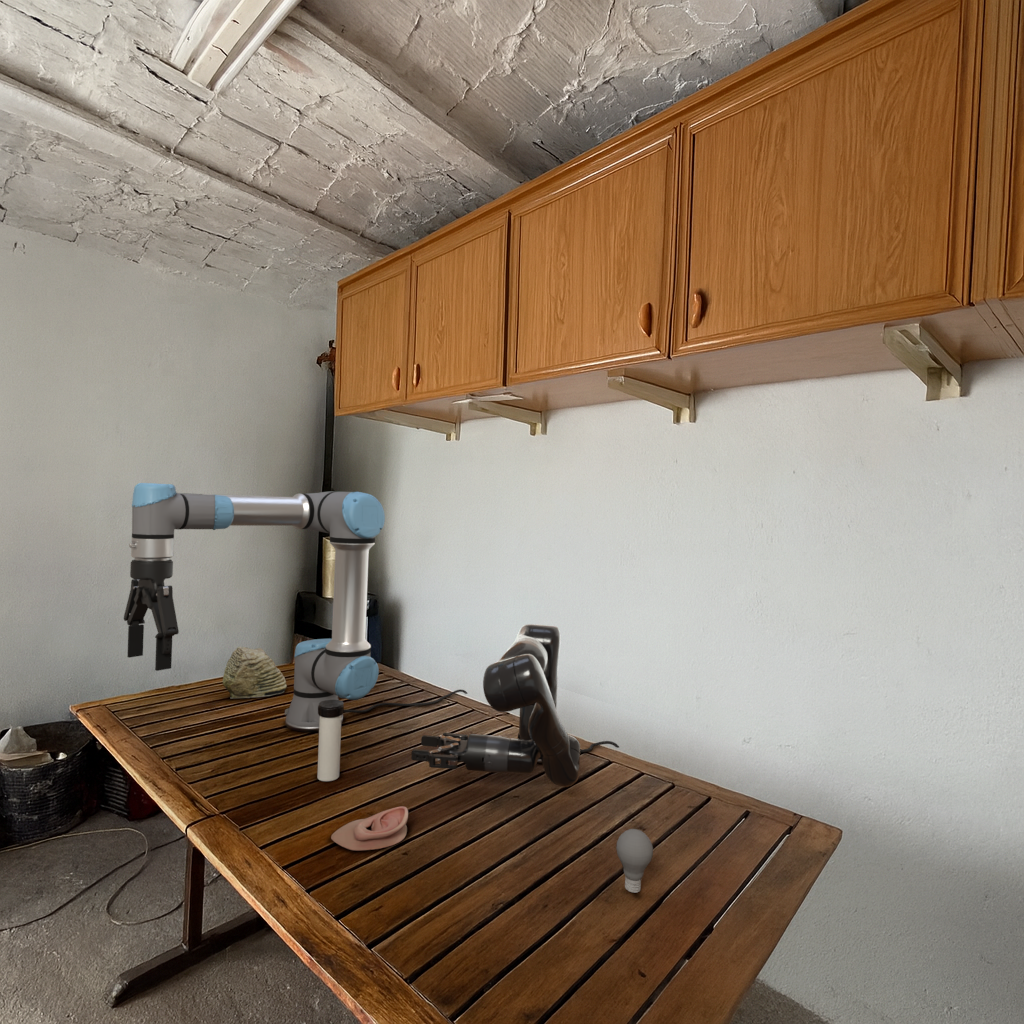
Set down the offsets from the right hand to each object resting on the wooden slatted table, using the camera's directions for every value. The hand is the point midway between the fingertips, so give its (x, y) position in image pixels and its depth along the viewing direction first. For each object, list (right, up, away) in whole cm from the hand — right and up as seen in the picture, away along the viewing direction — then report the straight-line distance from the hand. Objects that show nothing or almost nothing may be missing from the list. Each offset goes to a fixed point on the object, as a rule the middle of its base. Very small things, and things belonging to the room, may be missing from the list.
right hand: (416, 747), depth 141 cm
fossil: (-59, -5, +57) cm, 82 cm away
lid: (-20, +9, +2) cm, 22 cm away
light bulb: (+41, -11, -35) cm, 55 cm away
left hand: (-53, +22, -12) cm, 58 cm away
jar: (-20, -8, +2) cm, 22 cm away
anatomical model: (-6, -9, -22) cm, 24 cm away
